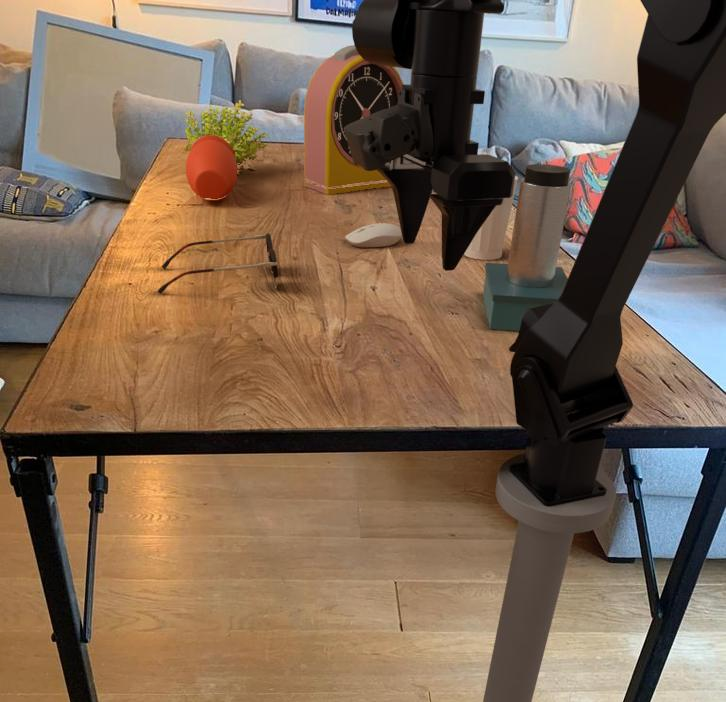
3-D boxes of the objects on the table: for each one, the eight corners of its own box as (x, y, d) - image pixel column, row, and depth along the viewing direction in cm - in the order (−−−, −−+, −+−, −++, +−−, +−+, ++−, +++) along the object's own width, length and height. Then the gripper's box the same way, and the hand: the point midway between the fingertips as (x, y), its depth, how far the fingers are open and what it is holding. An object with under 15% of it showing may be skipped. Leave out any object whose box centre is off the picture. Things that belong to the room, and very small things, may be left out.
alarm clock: (327, 194, 151) (329, 46, 137) (302, 186, 157) (302, 43, 142) (403, 184, 162) (412, 47, 148) (377, 177, 168) (384, 44, 154)
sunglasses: (280, 295, 99) (276, 258, 96) (158, 304, 96) (151, 267, 94) (272, 264, 110) (269, 230, 107) (163, 272, 108) (157, 238, 105)
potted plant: (273, 236, 143) (266, 160, 177) (274, 161, 134) (266, 96, 167) (173, 233, 141) (185, 157, 174) (166, 156, 131) (181, 91, 165)
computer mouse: (340, 240, 123) (341, 221, 121) (394, 236, 126) (395, 218, 124) (353, 249, 118) (354, 230, 116) (408, 245, 121) (410, 227, 120)
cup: (467, 262, 115) (477, 181, 108) (451, 247, 121) (459, 170, 115) (514, 260, 117) (526, 181, 110) (495, 246, 123) (506, 170, 117)
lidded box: (575, 335, 91) (582, 300, 88) (488, 329, 91) (493, 294, 89) (558, 299, 102) (564, 267, 99) (481, 294, 102) (485, 262, 100)
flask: (533, 291, 90) (553, 175, 83) (496, 278, 94) (512, 166, 87) (562, 282, 94) (584, 170, 86) (525, 270, 98) (543, 162, 90)
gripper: (321, 63, 68) (320, 235, 76) (401, 84, 53) (388, 293, 62) (430, 66, 71) (416, 229, 80) (532, 86, 57) (502, 283, 65)
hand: (427, 255), depth 72 cm, fingers open, 9 cm apart
